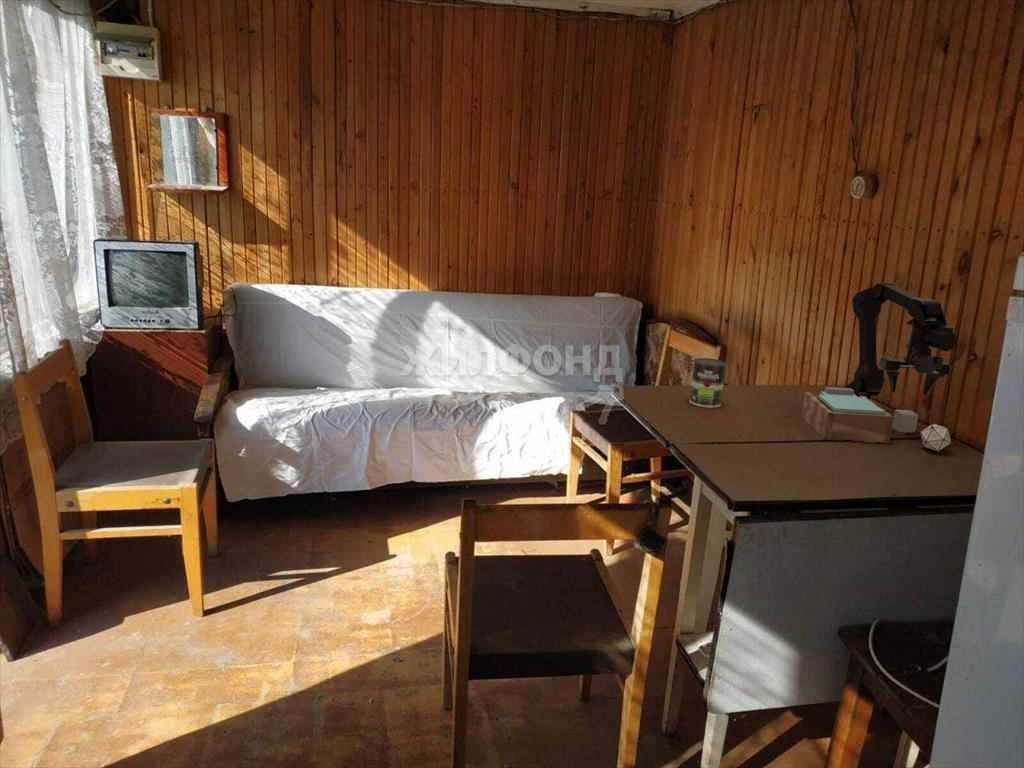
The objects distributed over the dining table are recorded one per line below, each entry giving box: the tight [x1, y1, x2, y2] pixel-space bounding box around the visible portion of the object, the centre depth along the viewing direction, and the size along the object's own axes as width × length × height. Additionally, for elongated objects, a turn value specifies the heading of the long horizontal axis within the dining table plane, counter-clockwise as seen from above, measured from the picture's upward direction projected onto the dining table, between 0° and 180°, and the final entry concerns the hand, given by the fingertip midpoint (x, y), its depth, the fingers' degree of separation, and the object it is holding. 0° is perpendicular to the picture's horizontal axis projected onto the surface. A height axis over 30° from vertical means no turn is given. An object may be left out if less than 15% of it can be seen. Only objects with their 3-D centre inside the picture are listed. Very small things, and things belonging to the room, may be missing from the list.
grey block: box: [892, 409, 919, 433], centre depth 238 cm, size 5×5×6 cm
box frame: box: [801, 392, 894, 444], centre depth 236 cm, size 22×18×8 cm
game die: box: [917, 420, 955, 455], centre depth 222 cm, size 9×8×10 cm
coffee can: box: [688, 357, 728, 409], centre depth 255 cm, size 10×10×14 cm
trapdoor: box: [818, 386, 884, 414], centre depth 235 cm, size 18×14×3 cm
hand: (908, 393), depth 234 cm, fingers open, 9 cm apart
